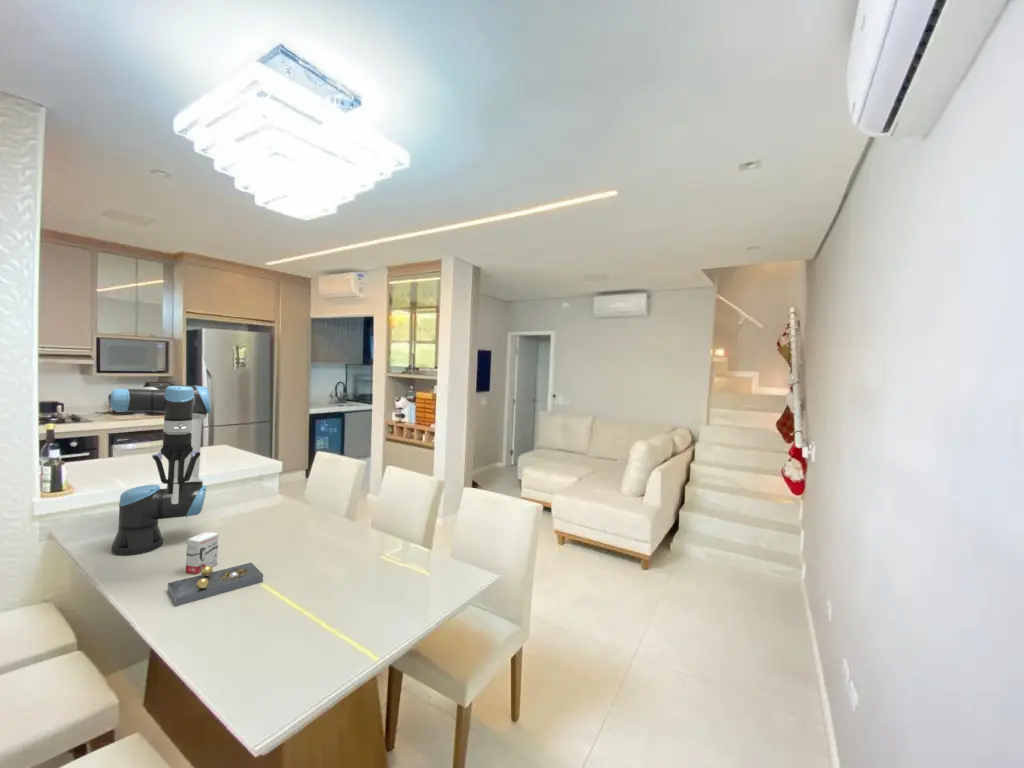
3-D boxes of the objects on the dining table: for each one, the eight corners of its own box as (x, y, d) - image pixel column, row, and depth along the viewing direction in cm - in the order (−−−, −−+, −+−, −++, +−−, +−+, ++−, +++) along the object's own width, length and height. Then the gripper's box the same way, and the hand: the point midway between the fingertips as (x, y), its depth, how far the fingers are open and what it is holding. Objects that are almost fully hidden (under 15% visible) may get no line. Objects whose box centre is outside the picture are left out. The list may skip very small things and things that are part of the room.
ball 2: (195, 588, 138) (195, 578, 138) (207, 584, 140) (207, 575, 140) (197, 592, 136) (198, 581, 136) (209, 588, 138) (210, 578, 138)
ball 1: (199, 575, 146) (200, 566, 146) (210, 572, 148) (211, 563, 148) (202, 578, 144) (202, 569, 144) (213, 576, 146) (213, 566, 146)
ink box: (196, 575, 151) (198, 541, 151) (184, 572, 152) (186, 539, 152) (217, 564, 159) (219, 532, 159) (206, 562, 160) (208, 530, 160)
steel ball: (224, 577, 148) (233, 568, 150) (232, 582, 149) (240, 574, 151) (227, 579, 146) (235, 570, 147) (234, 584, 147) (242, 576, 149)
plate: (175, 606, 132) (176, 598, 132) (167, 590, 140) (168, 583, 140) (262, 581, 149) (263, 574, 149) (251, 569, 157) (251, 562, 157)
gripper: (154, 435, 137) (151, 509, 138) (204, 433, 147) (200, 502, 148) (150, 432, 142) (147, 503, 143) (198, 430, 152) (195, 496, 153)
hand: (174, 502), depth 145 cm, fingers closed
